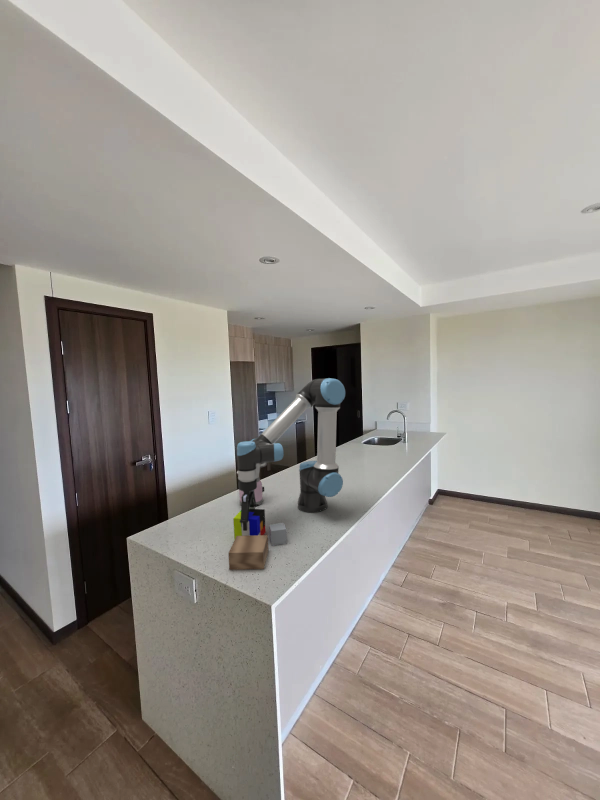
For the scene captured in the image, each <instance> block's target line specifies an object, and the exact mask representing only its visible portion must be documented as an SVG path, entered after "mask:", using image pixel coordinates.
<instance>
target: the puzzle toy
mask: <svg viewBox="0 0 600 800" xmlns="http://www.w3.org/2000/svg"><path fill="white" fill-rule="evenodd" d="M265 511H266V510H265V509H261V508H255V509H249V518H248V521H249V533H250V536H254V535H266V532H267V531H266V517H265V516H266V513H265ZM232 519H233V520H232V521H233V534H234V535H233V537H234V539H233V541H234V540H235V538H236V536H242V523H241V522H240V520H241V510H239V512H237V514H236V515H235V516H234V517H233V518H232Z"/></svg>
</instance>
